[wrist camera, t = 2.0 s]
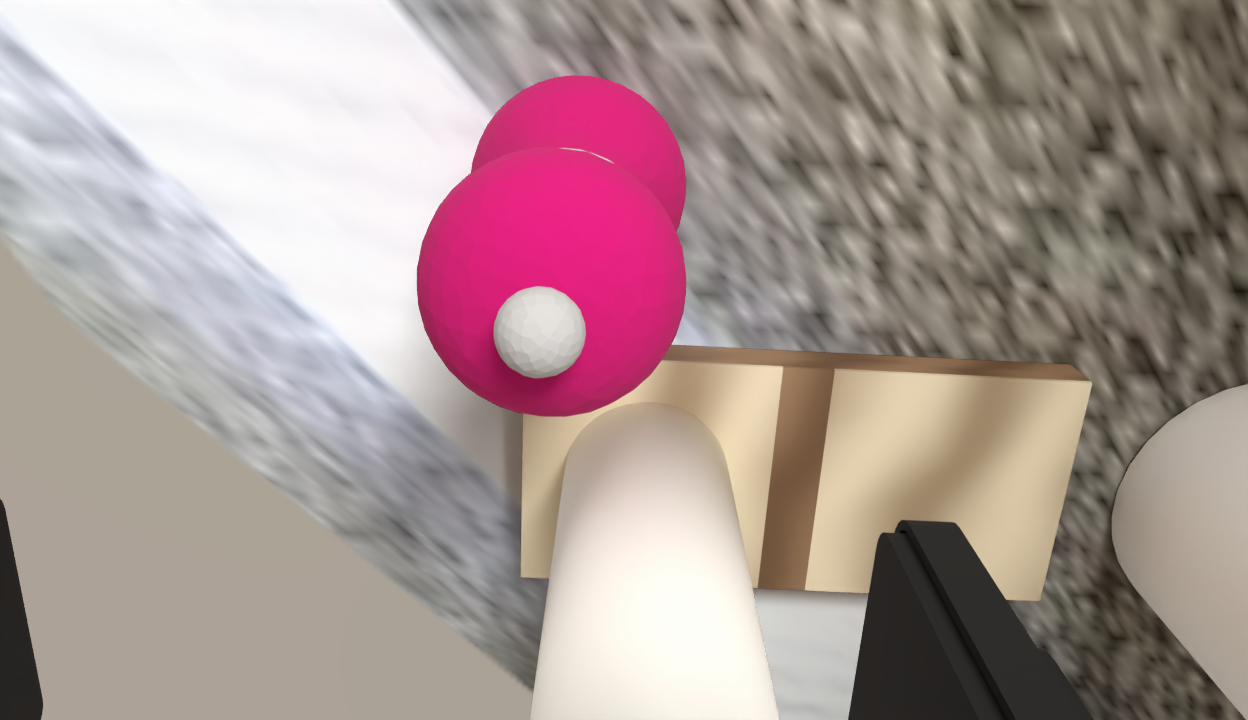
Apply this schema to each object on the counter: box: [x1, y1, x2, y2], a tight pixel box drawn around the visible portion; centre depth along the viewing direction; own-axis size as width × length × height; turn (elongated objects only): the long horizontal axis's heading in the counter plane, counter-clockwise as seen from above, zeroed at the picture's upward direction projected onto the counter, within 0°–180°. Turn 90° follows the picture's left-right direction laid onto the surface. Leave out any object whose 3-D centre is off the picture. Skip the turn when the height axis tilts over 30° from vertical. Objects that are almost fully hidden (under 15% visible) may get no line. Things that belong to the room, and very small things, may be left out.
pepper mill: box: [417, 76, 686, 417], centre depth 27 cm, size 7×7×20 cm
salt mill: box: [530, 402, 779, 720], centre depth 29 cm, size 7×7×21 cm
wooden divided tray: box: [521, 345, 1092, 601], centre depth 40 cm, size 22×10×2 cm, turn 87°
